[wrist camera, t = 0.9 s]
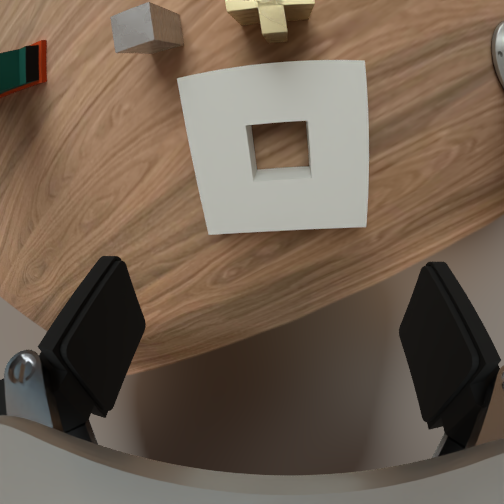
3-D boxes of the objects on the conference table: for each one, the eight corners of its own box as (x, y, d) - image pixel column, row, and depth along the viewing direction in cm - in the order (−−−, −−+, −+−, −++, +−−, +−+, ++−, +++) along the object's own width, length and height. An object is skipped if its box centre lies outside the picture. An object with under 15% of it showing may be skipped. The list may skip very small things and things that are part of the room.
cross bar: (302, -16, 21) (306, -40, 14) (311, 40, 25) (318, 30, 18) (235, -9, 22) (220, -31, 15) (244, 46, 26) (230, 37, 19)
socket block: (355, 61, 25) (364, 60, 22) (359, 211, 35) (366, 226, 32) (189, 77, 28) (176, 78, 25) (216, 218, 38) (208, 234, 35)
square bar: (179, 14, 24) (148, 2, 17) (184, 45, 26) (154, 39, 20) (146, 24, 25) (110, 17, 18) (151, 53, 27) (115, 53, 20)
